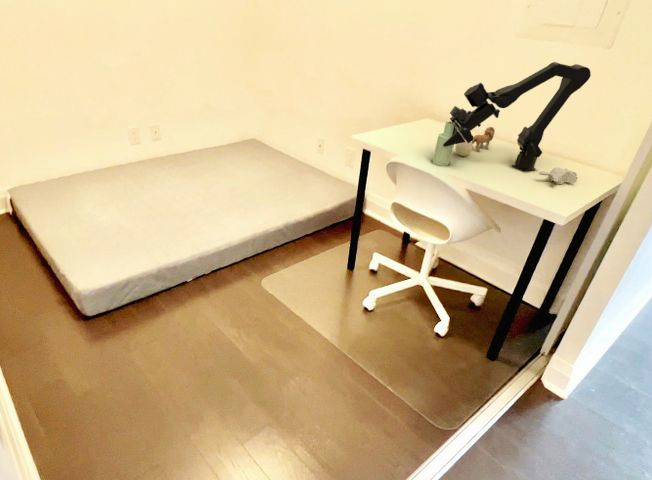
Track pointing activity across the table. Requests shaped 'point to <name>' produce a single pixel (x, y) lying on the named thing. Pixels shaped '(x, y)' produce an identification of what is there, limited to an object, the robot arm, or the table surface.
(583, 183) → the table surface
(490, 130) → the lion figurine
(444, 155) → the bottle
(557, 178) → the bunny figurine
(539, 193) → the table surface
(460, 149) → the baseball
